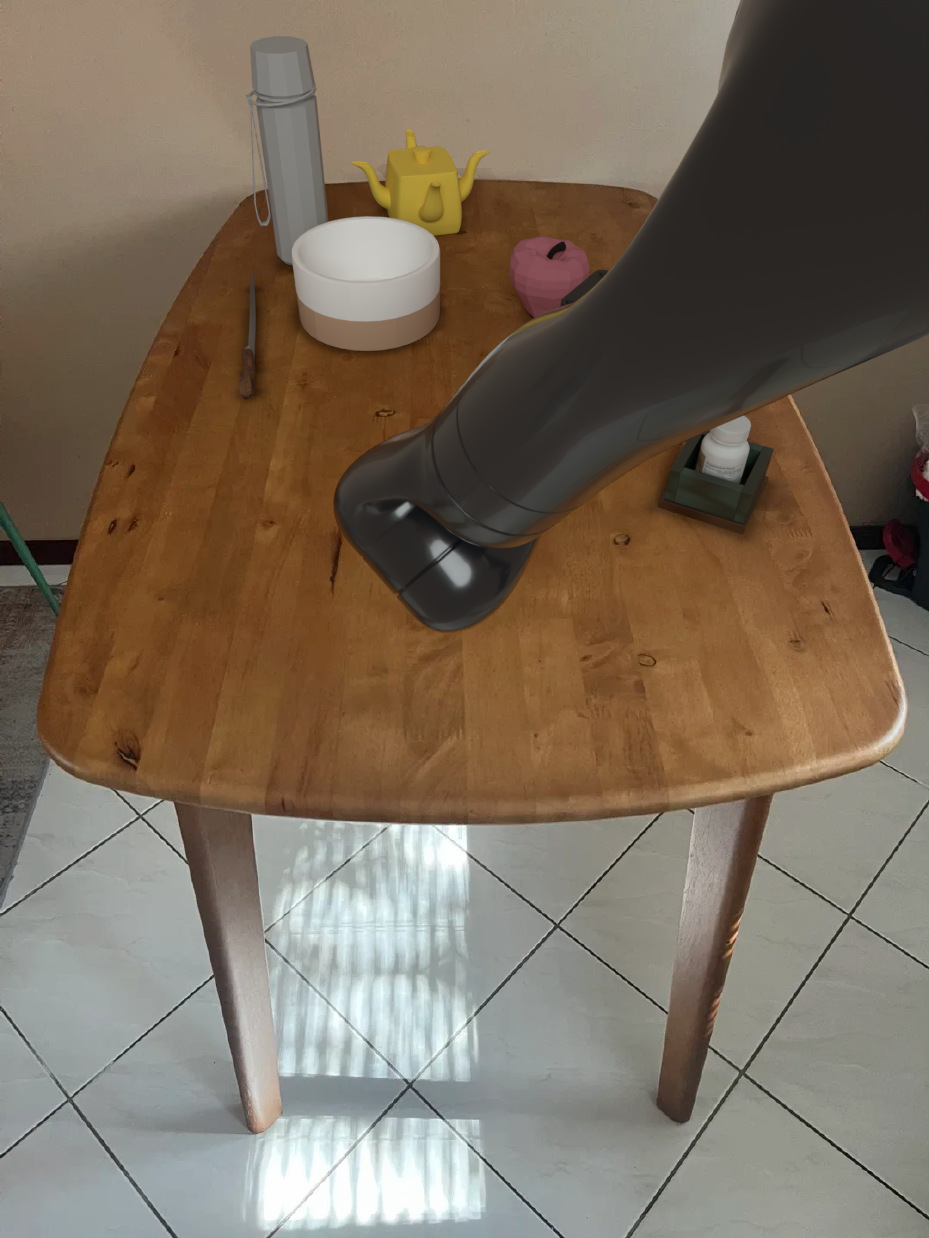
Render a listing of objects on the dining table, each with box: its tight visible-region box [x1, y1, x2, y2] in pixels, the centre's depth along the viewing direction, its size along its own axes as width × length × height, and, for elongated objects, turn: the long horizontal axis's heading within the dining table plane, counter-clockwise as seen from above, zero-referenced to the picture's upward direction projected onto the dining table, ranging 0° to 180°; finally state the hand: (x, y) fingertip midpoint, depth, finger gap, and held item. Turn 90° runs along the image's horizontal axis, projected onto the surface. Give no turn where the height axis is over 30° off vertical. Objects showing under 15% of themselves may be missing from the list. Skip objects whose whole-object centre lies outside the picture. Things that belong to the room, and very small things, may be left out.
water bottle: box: [245, 35, 329, 267], centre depth 115 cm, size 9×8×25 cm
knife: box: [238, 271, 257, 400], centre depth 108 cm, size 4×1×30 cm
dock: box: [658, 430, 775, 535], centre depth 90 cm, size 8×8×4 cm
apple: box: [509, 235, 590, 318], centre depth 111 cm, size 10×9×10 cm
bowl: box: [292, 215, 441, 352], centre depth 111 cm, size 17×17×8 cm
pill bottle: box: [695, 415, 752, 484], centre depth 88 cm, size 4×4×8 cm
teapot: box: [351, 128, 491, 237], centre depth 129 cm, size 15×14×10 cm
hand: (716, 290), depth 66 cm, fingers open, 8 cm apart
